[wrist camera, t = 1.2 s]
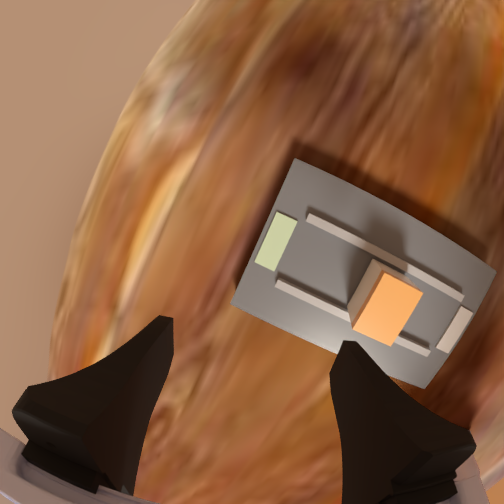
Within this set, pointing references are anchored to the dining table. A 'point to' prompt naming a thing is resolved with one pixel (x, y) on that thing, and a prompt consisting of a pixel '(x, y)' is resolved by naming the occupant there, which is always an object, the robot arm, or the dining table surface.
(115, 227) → the dining table surface
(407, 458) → the robot arm
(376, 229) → the panel
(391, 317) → the block
